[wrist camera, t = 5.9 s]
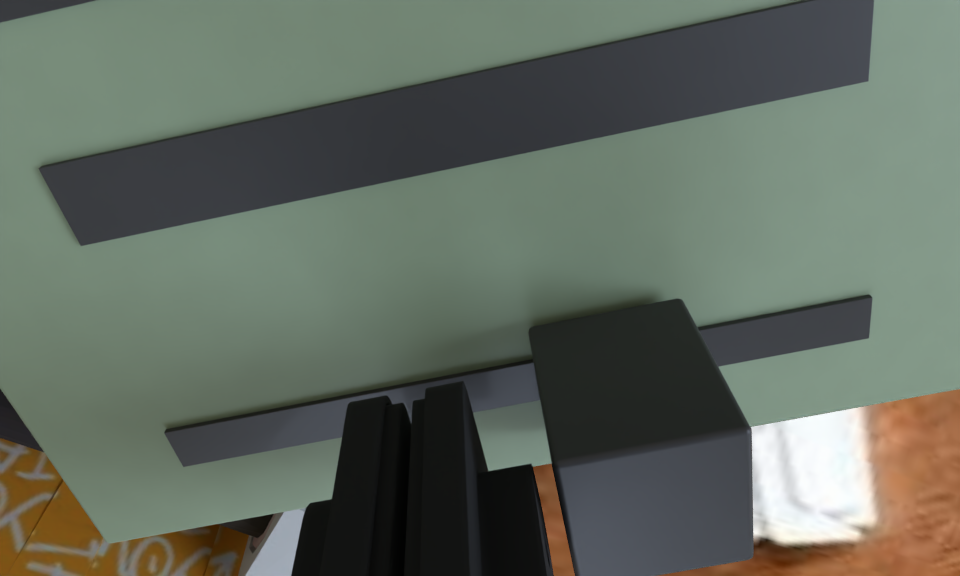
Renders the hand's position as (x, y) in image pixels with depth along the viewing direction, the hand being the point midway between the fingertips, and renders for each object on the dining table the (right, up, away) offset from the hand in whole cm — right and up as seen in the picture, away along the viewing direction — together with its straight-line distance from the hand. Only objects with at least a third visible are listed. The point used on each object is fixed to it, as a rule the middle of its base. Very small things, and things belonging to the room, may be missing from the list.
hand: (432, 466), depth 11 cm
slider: (+3, +1, +1) cm, 3 cm away
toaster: (0, +10, +9) cm, 13 cm away
